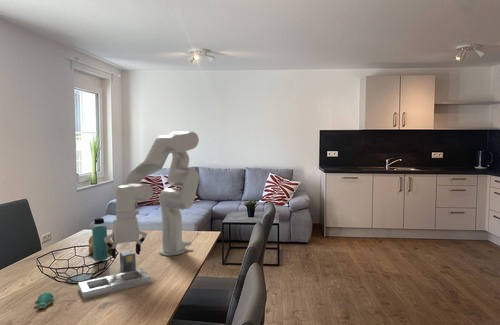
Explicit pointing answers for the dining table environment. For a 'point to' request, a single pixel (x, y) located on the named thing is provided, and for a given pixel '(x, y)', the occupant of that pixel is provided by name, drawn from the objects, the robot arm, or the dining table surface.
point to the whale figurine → (44, 300)
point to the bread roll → (92, 245)
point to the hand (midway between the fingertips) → (126, 255)
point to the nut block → (127, 261)
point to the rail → (113, 283)
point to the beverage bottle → (99, 240)
